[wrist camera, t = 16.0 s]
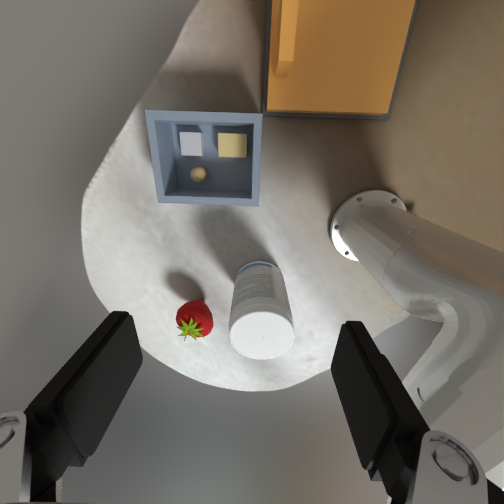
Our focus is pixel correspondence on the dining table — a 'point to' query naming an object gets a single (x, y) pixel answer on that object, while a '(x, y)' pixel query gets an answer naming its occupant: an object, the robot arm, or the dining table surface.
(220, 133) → the parts tub
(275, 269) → the supplement tub
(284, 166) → the dining table surface
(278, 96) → the lid
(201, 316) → the strawberry
